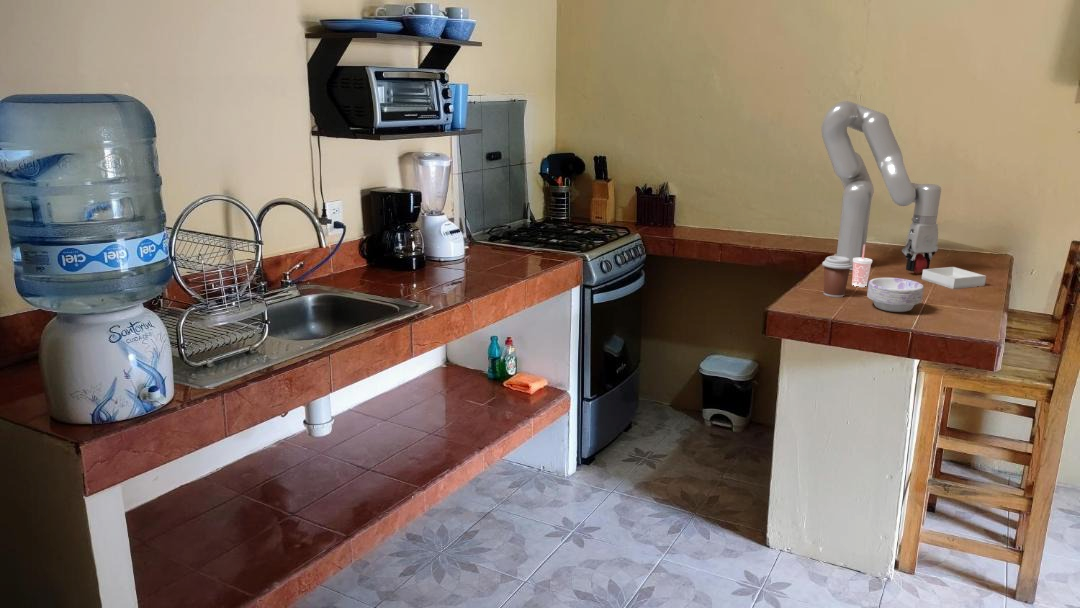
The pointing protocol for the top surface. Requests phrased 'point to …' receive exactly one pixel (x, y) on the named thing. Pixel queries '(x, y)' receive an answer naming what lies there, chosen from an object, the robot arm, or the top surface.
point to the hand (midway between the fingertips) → (917, 269)
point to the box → (953, 277)
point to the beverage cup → (861, 270)
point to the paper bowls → (895, 293)
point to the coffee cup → (836, 275)
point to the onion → (920, 263)
